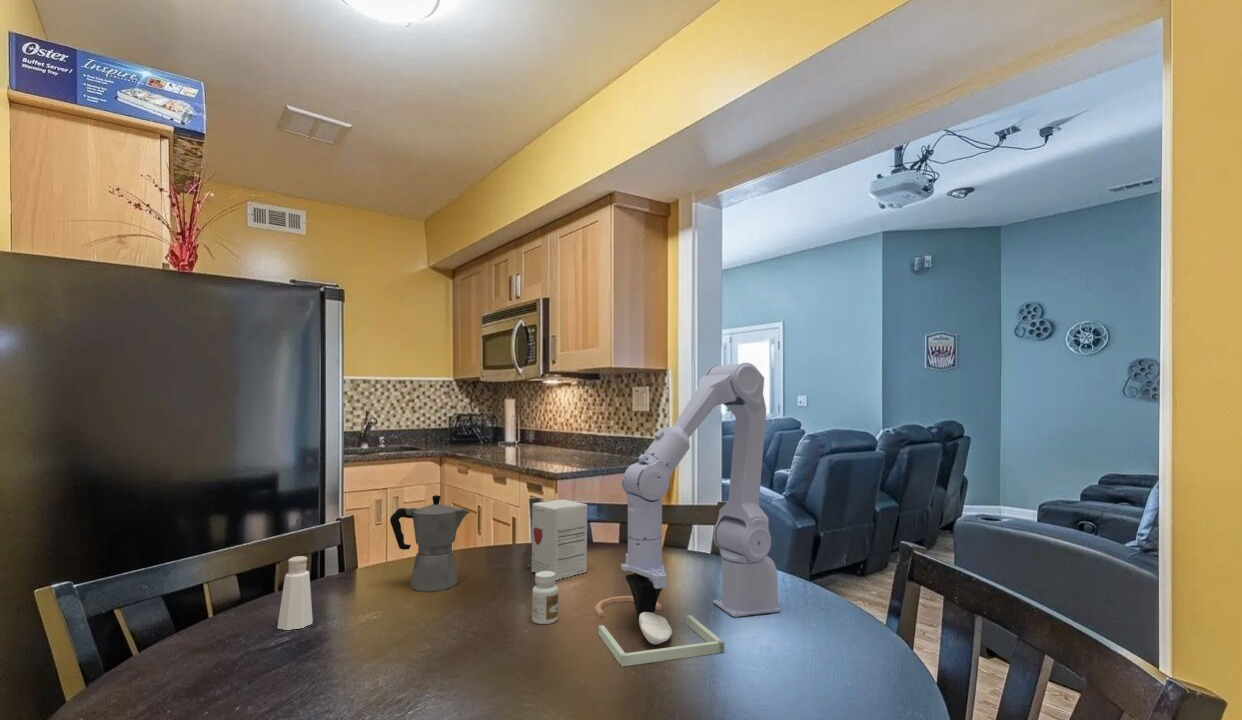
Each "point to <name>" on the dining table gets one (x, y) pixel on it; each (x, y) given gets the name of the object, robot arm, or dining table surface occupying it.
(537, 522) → the supplement box
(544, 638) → the dining table surface
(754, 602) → the robot arm
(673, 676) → the dining table surface
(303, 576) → the pepper shaker
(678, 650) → the pale green u-frame
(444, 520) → the coffeepot
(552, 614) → the pill bottle
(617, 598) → the segmented c-shaped arc
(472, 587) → the dining table surface
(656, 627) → the dumpling
